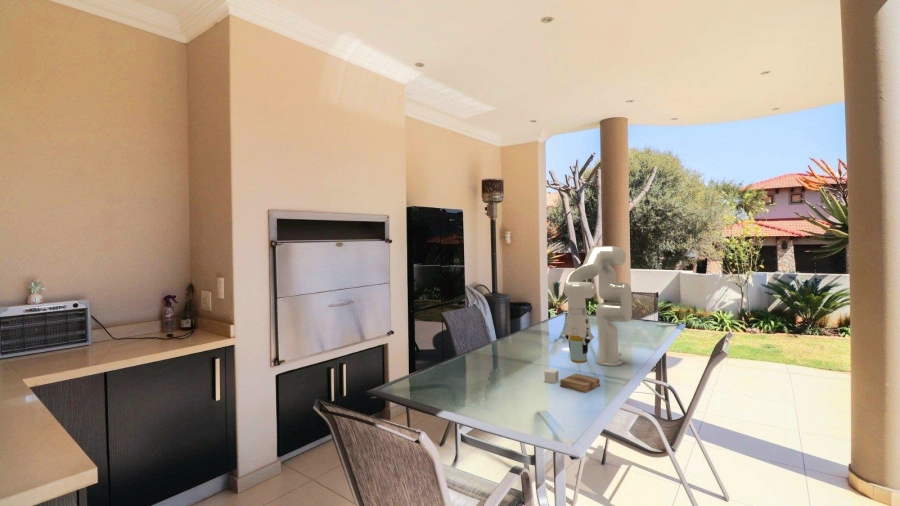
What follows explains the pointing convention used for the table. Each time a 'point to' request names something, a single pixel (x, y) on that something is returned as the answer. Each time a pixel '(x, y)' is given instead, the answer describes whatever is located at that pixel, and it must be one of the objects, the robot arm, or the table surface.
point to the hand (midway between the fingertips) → (578, 351)
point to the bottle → (577, 347)
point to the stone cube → (551, 376)
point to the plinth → (579, 383)
